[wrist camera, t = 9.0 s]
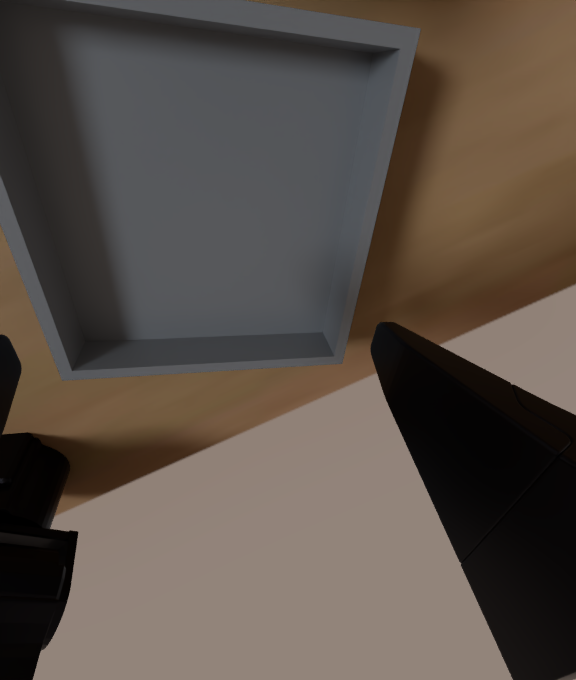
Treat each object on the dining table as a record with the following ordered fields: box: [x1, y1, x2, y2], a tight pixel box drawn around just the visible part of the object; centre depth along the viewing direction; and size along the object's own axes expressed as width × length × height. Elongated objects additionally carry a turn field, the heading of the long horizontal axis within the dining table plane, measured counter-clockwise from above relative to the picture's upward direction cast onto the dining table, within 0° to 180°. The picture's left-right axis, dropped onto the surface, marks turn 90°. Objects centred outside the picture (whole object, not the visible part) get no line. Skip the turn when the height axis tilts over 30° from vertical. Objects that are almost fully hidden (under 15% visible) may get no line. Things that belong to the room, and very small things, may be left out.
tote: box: [0, 0, 421, 381], centre depth 16 cm, size 15×15×4 cm
